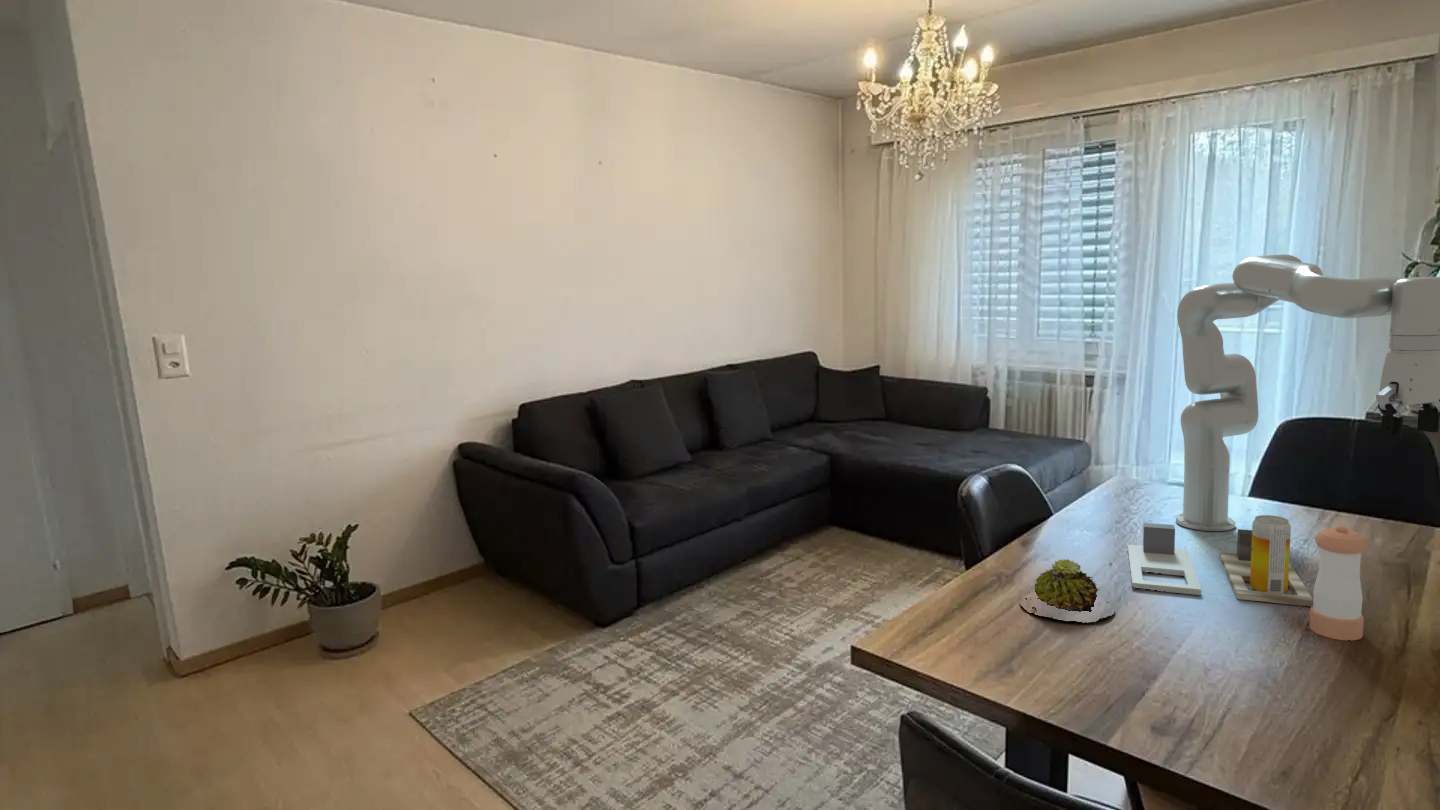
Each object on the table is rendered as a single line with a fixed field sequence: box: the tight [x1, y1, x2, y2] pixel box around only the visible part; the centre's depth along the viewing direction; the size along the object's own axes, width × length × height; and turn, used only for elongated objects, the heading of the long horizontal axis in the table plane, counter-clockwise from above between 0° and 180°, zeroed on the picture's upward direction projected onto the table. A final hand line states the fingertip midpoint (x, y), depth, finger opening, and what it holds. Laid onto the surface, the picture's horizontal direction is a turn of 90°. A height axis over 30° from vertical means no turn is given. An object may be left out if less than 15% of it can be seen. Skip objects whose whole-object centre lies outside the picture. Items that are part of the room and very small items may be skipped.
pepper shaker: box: [1308, 525, 1369, 641], centre depth 131 cm, size 7×7×19 cm
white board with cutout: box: [1127, 522, 1202, 596], centre depth 163 cm, size 24×12×7 cm, turn 154°
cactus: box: [1033, 558, 1104, 620], centre depth 148 cm, size 17×16×10 cm
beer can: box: [1249, 514, 1292, 594], centre depth 149 cm, size 6×6×15 cm
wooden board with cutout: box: [1218, 528, 1313, 607], centre depth 155 cm, size 24×12×7 cm, turn 154°
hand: (1409, 434), depth 143 cm, fingers open, 9 cm apart
